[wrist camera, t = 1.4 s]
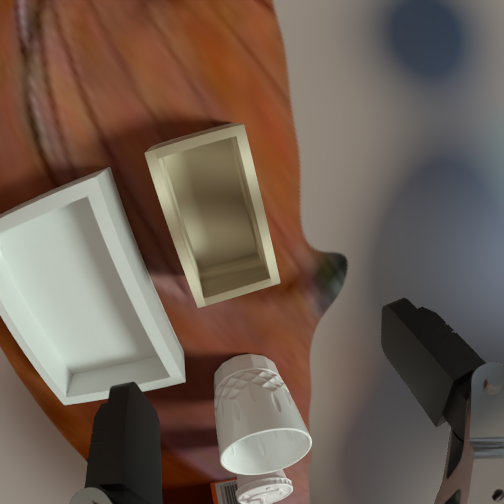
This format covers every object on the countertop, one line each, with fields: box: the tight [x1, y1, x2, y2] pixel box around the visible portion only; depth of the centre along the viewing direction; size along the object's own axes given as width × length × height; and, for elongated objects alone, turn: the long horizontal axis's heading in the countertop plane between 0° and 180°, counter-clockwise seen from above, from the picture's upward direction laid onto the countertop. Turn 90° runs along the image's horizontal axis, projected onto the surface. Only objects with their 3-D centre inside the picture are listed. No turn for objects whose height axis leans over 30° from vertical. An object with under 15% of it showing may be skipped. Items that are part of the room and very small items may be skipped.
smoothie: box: [235, 469, 293, 504], centre depth 30 cm, size 6×6×14 cm
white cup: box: [214, 354, 312, 475], centre depth 28 cm, size 8×8×10 cm
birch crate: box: [145, 123, 280, 308], centre depth 22 cm, size 11×6×5 cm, turn 13°
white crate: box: [0, 167, 186, 405], centre depth 23 cm, size 18×13×4 cm
